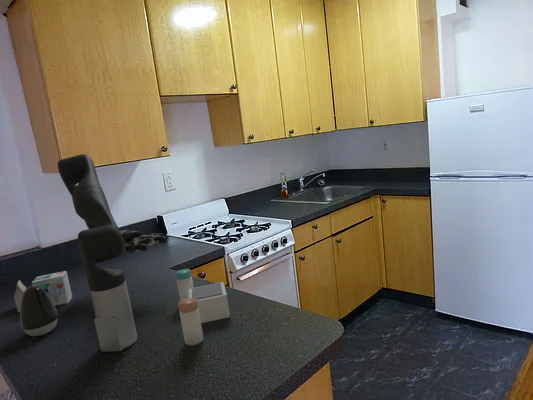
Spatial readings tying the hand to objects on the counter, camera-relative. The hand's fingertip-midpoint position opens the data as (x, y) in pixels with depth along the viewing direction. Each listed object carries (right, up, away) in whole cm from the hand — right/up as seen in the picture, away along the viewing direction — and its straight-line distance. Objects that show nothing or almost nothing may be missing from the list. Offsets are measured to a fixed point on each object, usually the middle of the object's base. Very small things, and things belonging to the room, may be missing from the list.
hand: (156, 243), depth 133 cm
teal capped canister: (+12, -19, -3) cm, 23 cm away
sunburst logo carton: (-54, -26, +14) cm, 61 cm away
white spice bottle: (+18, -23, -28) cm, 41 cm away
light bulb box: (-42, -24, +14) cm, 50 cm away
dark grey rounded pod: (-33, -27, -10) cm, 44 cm away
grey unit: (+20, -20, -13) cm, 31 cm away
